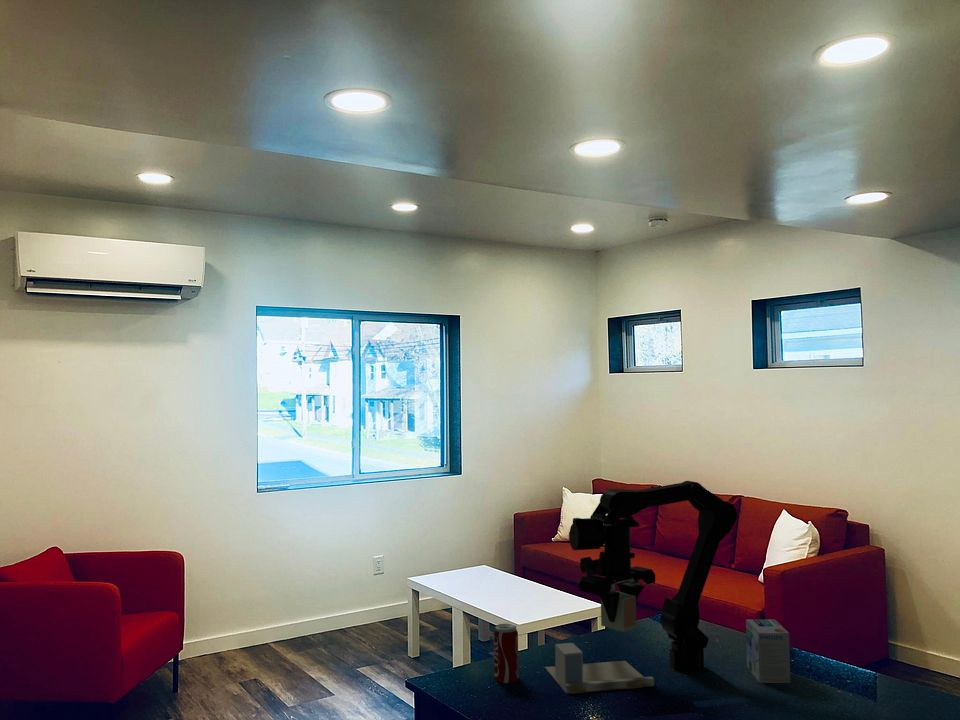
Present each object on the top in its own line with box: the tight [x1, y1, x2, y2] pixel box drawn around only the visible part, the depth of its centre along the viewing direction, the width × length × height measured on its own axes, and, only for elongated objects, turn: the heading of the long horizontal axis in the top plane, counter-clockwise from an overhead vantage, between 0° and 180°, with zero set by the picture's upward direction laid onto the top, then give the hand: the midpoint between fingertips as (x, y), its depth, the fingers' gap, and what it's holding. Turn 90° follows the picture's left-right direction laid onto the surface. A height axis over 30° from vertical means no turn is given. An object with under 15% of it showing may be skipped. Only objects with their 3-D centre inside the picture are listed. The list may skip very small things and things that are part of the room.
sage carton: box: [600, 590, 637, 633], centre depth 167 cm, size 4×7×7 cm, turn 38°
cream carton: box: [554, 642, 584, 688], centre depth 161 cm, size 4×7×7 cm, turn 11°
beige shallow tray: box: [544, 660, 655, 694], centre depth 165 cm, size 19×16×2 cm
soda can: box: [493, 623, 519, 684], centre depth 164 cm, size 5×5×12 cm
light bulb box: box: [745, 618, 791, 684], centre depth 167 cm, size 11×7×11 cm, turn 175°
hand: (618, 620), depth 166 cm, fingers closed on sage carton, 4 cm apart
